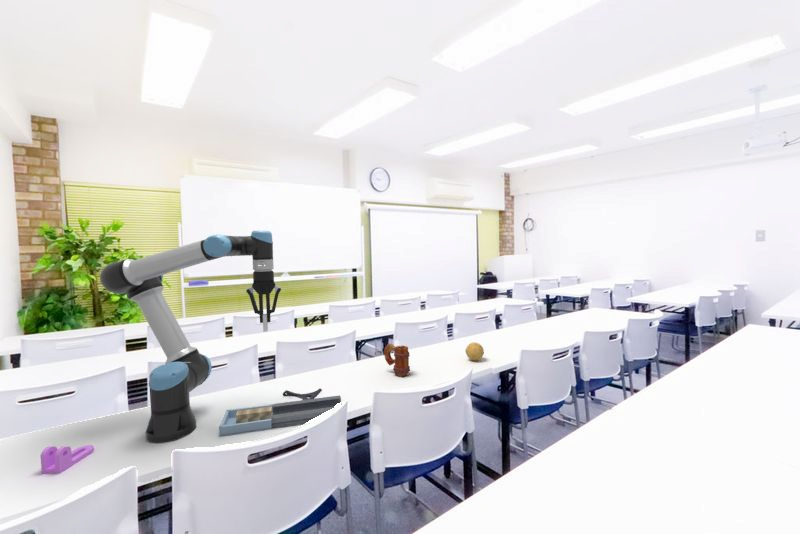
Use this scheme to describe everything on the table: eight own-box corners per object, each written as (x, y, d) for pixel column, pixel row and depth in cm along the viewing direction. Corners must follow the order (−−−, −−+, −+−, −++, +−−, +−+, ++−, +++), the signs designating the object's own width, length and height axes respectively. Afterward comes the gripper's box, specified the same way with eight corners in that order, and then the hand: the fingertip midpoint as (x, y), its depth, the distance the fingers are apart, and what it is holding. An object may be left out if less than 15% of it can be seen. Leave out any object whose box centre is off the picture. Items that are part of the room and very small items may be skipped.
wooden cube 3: (259, 423, 133) (259, 412, 133) (261, 418, 137) (260, 407, 137) (271, 421, 134) (271, 410, 134) (272, 416, 138) (271, 406, 138)
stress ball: (470, 358, 210) (459, 349, 206) (481, 345, 210) (470, 336, 206) (479, 366, 200) (467, 357, 197) (490, 353, 201) (479, 343, 197)
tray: (219, 436, 125) (219, 427, 125) (226, 418, 138) (226, 410, 138) (271, 428, 130) (271, 420, 129) (273, 412, 143) (273, 404, 143)
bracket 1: (60, 474, 106) (58, 450, 105) (41, 474, 106) (40, 450, 105) (98, 449, 119) (97, 428, 118) (82, 449, 119) (80, 428, 118)
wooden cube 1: (236, 426, 131) (235, 415, 131) (237, 421, 135) (237, 410, 135) (248, 424, 132) (247, 413, 132) (249, 419, 136) (249, 409, 136)
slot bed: (271, 428, 130) (271, 419, 129) (273, 412, 143) (273, 403, 143) (344, 418, 137) (344, 409, 137) (340, 403, 150) (339, 394, 150)
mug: (414, 373, 183) (413, 344, 183) (405, 378, 177) (405, 348, 176) (390, 369, 191) (389, 341, 191) (381, 373, 184) (380, 344, 184)
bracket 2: (291, 390, 167) (291, 384, 166) (321, 391, 164) (321, 385, 164) (275, 403, 152) (275, 397, 152) (308, 405, 150) (308, 399, 150)
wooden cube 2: (248, 424, 132) (247, 413, 132) (249, 419, 136) (248, 409, 136) (259, 423, 133) (259, 412, 133) (260, 418, 137) (260, 407, 137)
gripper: (243, 271, 135) (246, 334, 136) (280, 270, 139) (282, 331, 140) (246, 270, 142) (248, 330, 144) (281, 269, 146) (283, 327, 147)
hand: (265, 330), depth 142 cm, fingers closed
